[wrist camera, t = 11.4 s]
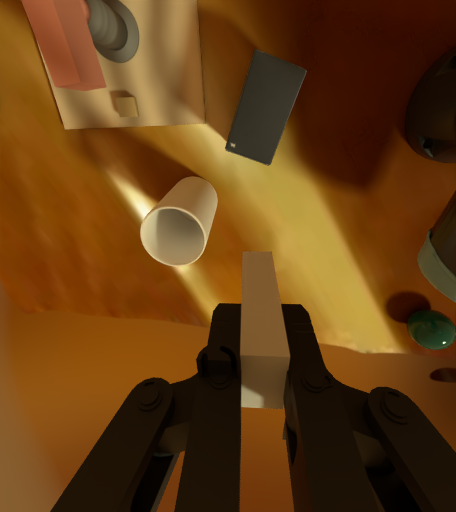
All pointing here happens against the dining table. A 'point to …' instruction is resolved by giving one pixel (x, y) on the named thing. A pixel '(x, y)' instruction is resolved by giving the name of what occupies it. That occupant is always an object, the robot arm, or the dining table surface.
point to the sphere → (431, 329)
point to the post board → (140, 67)
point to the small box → (264, 107)
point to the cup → (180, 222)
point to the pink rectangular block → (66, 42)
